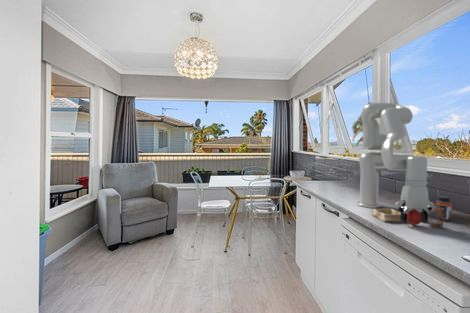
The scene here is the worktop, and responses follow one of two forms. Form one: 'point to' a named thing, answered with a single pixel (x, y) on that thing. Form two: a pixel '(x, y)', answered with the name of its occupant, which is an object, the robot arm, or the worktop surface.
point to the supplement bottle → (443, 209)
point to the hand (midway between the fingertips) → (413, 221)
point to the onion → (414, 217)
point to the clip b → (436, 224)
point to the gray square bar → (435, 222)
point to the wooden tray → (387, 215)
